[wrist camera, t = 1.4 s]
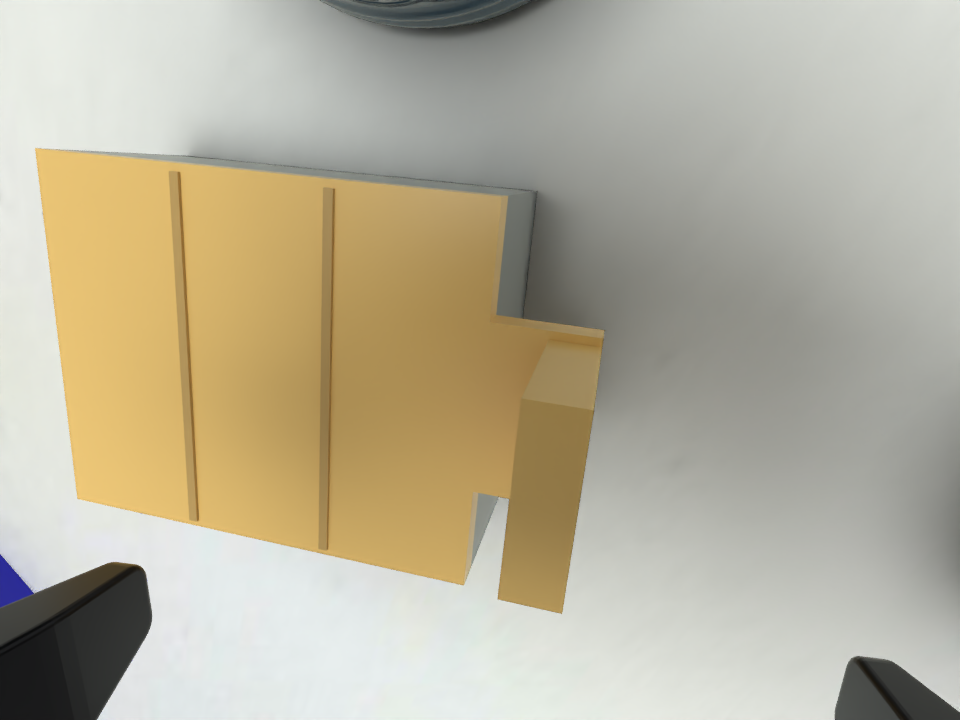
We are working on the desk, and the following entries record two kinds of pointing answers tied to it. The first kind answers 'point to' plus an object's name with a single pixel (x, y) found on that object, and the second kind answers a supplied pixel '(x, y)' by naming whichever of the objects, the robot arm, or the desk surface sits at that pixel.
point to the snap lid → (314, 365)
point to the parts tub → (518, 200)
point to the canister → (425, 11)
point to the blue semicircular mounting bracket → (11, 585)
